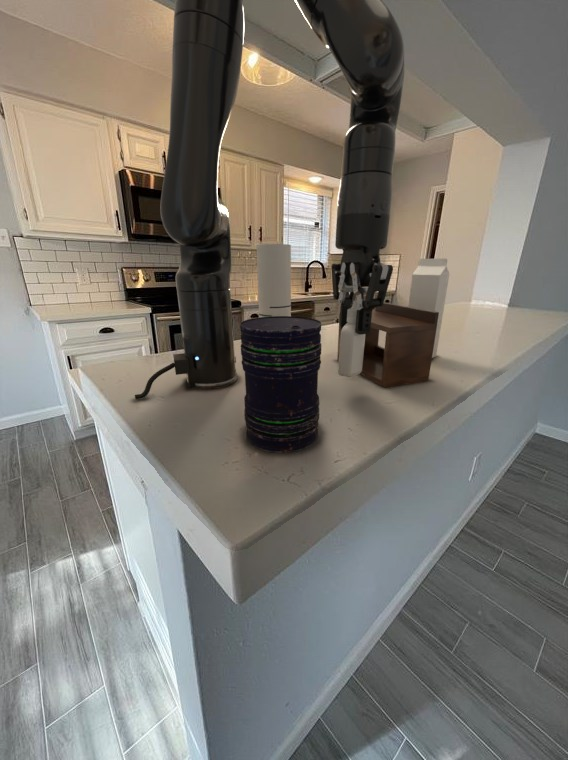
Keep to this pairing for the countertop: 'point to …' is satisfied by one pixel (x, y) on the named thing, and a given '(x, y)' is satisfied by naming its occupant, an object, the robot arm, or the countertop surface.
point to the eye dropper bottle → (351, 346)
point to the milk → (430, 289)
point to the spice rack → (399, 345)
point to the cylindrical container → (274, 279)
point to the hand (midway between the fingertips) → (353, 330)
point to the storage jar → (281, 381)
